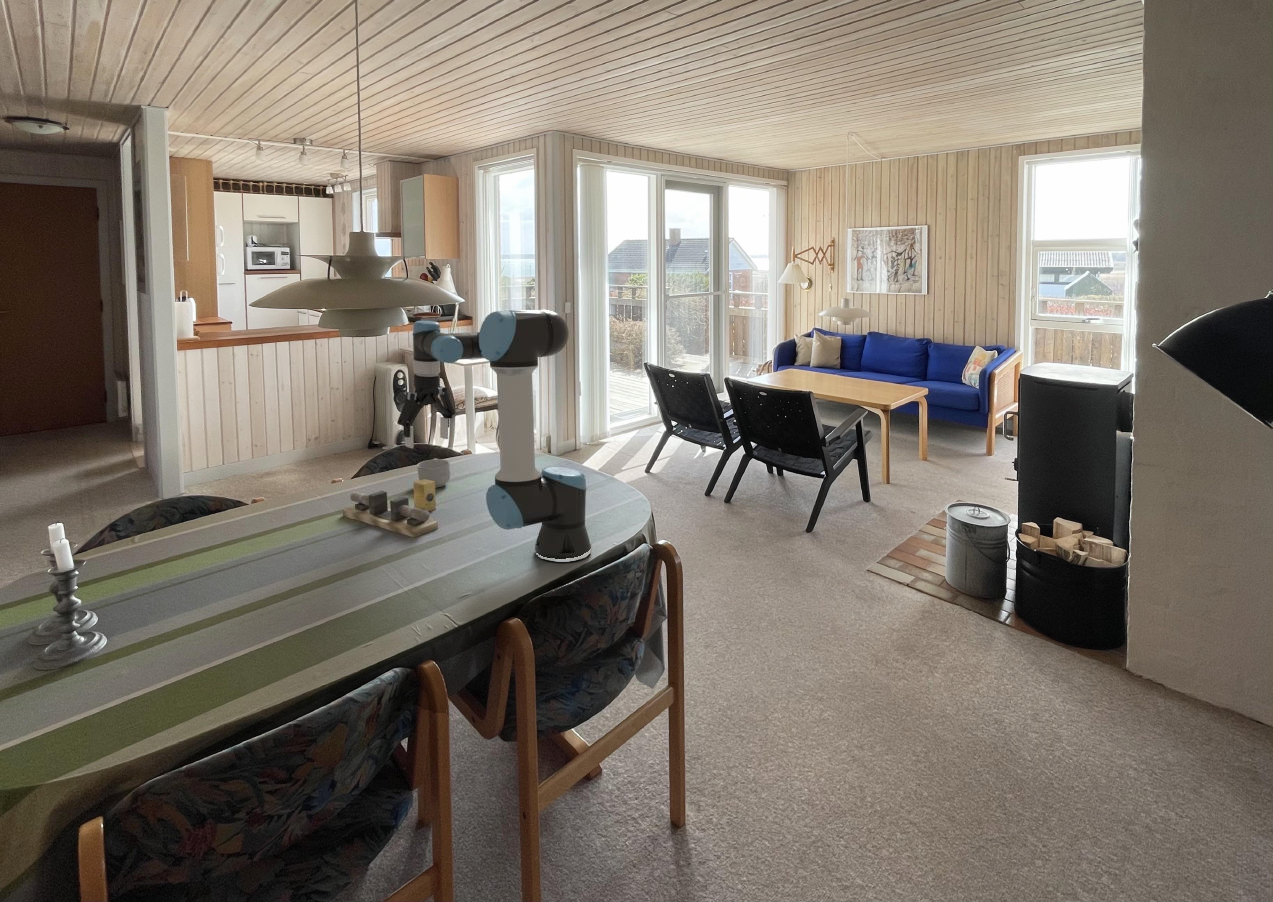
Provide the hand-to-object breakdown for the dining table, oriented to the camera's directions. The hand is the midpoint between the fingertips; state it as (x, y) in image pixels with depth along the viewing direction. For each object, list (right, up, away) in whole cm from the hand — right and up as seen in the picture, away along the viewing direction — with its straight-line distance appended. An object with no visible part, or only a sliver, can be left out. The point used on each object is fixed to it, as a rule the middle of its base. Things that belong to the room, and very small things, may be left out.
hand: (427, 442), depth 229 cm
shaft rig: (-9, -23, -7) cm, 26 cm away
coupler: (-2, -21, +5) cm, 21 cm away
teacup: (-6, -14, +31) cm, 34 cm away
